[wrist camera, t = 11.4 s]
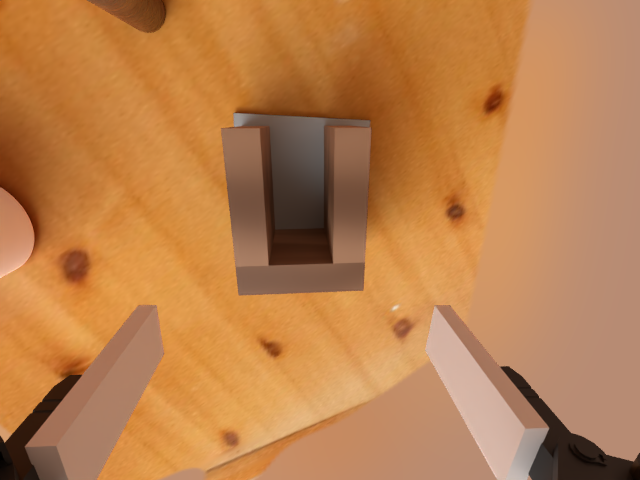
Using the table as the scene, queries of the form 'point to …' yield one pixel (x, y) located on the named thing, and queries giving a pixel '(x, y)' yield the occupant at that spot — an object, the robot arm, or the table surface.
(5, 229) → the beverage can
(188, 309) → the table surface
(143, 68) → the table surface
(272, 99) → the table surface
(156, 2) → the post
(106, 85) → the table surface
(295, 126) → the mat
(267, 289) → the c link
